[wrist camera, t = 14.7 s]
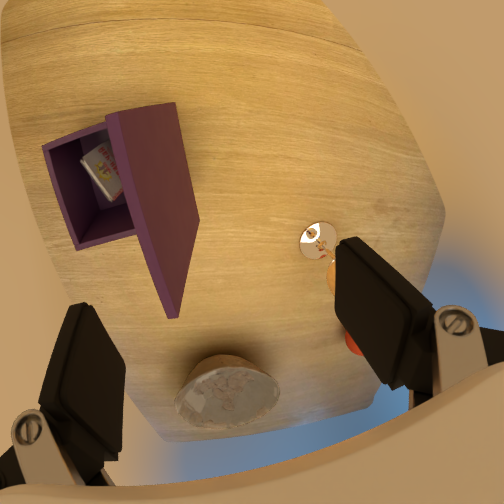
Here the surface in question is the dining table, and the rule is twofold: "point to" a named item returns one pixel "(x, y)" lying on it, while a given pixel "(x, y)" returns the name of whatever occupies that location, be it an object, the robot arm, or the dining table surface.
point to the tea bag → (103, 170)
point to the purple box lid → (157, 193)
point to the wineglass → (320, 247)
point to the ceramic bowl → (226, 393)
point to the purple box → (85, 191)
